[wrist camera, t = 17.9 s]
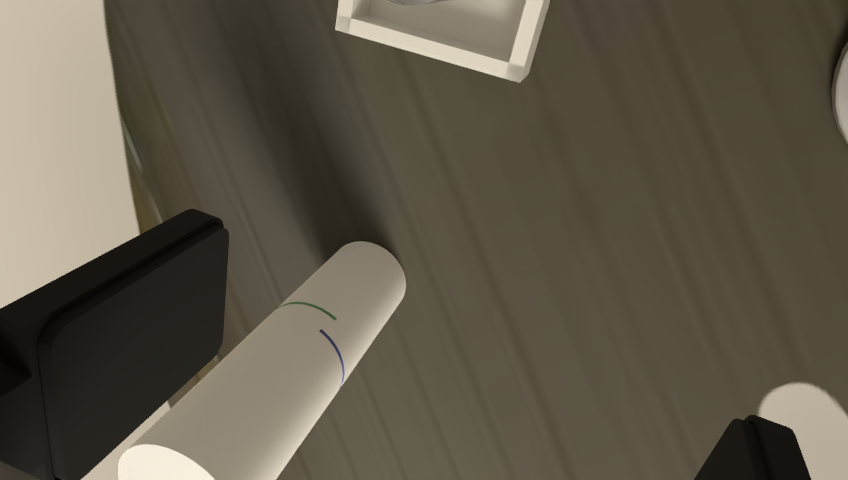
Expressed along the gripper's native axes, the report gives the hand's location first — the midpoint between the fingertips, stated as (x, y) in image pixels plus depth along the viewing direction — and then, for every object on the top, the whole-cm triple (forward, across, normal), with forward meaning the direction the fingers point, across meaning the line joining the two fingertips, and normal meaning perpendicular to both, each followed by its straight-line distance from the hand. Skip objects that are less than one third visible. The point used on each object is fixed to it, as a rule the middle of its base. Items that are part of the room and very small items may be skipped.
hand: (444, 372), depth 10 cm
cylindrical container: (+34, +12, +21) cm, 41 cm away
